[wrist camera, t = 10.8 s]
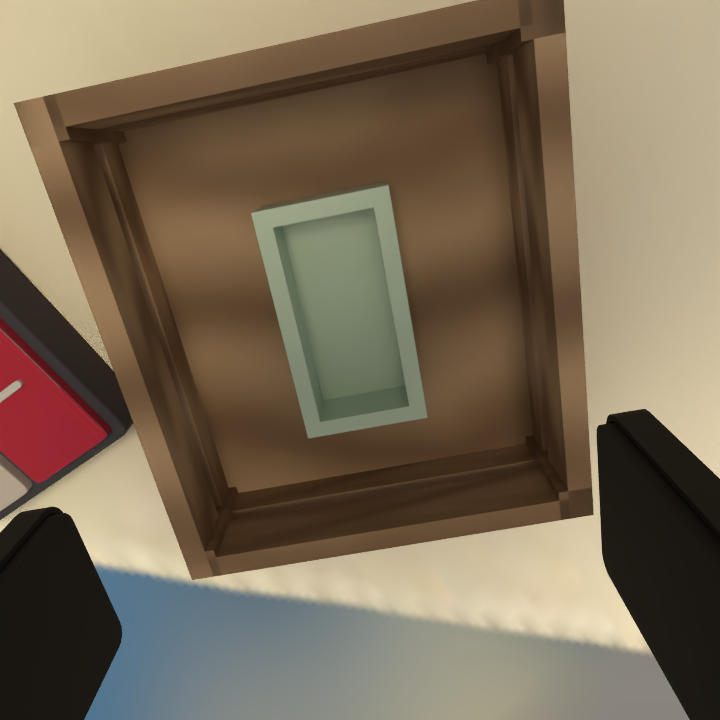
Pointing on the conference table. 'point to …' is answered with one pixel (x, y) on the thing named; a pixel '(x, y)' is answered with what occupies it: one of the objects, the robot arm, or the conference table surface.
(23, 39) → the conference table surface
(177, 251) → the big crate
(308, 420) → the box
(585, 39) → the conference table surface
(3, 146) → the conference table surface
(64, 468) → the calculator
